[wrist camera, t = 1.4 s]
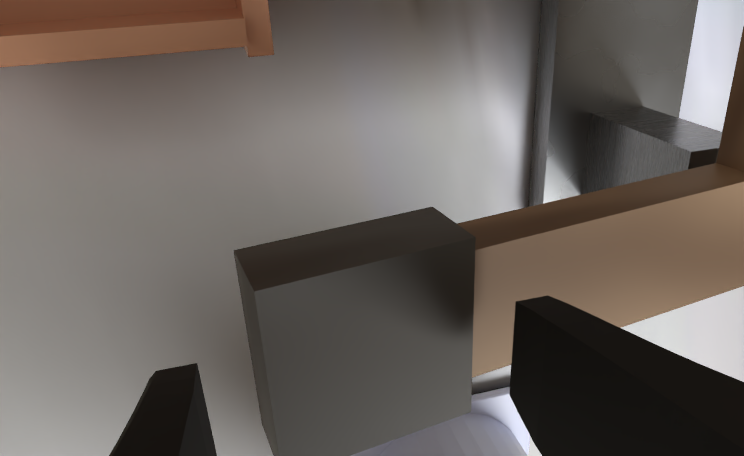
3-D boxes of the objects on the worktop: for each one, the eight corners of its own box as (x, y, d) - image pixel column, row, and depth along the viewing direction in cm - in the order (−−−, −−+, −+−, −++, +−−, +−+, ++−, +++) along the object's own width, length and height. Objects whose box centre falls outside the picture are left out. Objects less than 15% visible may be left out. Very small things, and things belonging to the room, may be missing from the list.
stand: (645, 199, 23) (777, 269, 18) (527, 217, 22) (630, 299, 17) (721, -295, 17) (960, -412, 12) (561, -301, 16) (743, -434, 10)
